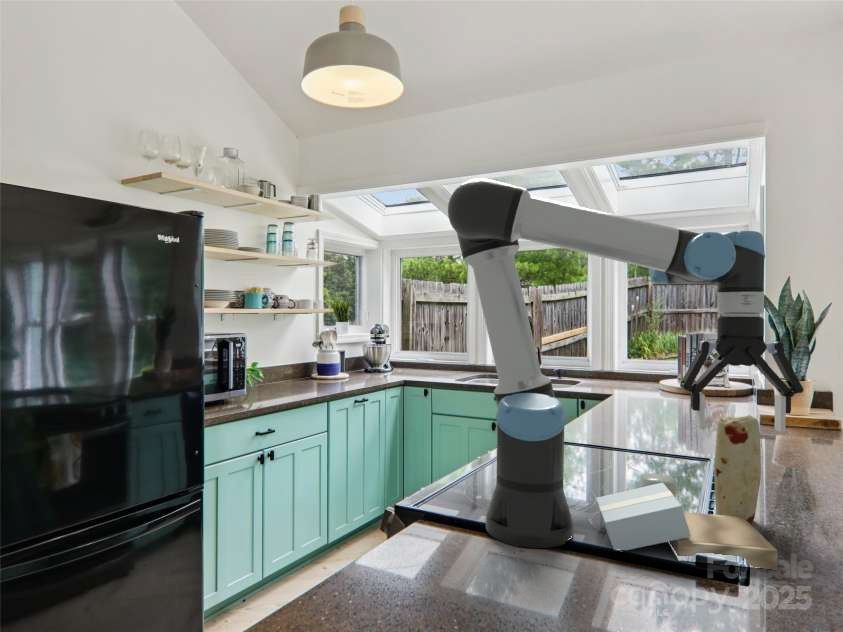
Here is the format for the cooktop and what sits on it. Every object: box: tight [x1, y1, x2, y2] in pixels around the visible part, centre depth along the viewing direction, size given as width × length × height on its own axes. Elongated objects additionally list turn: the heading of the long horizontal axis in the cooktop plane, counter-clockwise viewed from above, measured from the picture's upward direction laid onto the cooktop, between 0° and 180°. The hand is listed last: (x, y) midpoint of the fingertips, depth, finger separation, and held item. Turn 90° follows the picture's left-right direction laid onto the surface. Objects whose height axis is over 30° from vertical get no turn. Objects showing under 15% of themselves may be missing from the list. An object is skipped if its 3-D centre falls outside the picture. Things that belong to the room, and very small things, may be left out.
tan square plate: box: [669, 511, 778, 571], centre depth 92 cm, size 14×14×3 cm
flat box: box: [595, 483, 691, 551], centre depth 94 cm, size 12×12×5 cm
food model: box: [713, 415, 762, 524], centre depth 103 cm, size 10×7×20 cm
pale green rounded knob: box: [639, 473, 678, 498], centre depth 106 cm, size 6×6×7 cm
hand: (739, 429), depth 103 cm, fingers open, 13 cm apart
